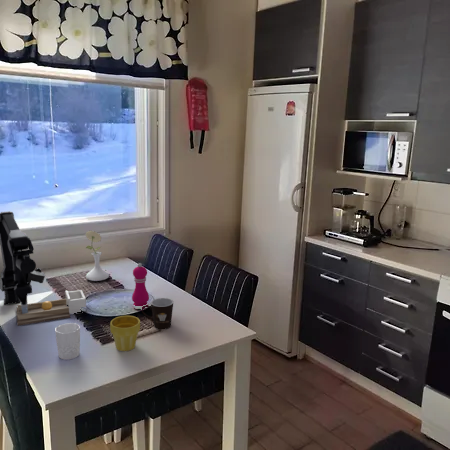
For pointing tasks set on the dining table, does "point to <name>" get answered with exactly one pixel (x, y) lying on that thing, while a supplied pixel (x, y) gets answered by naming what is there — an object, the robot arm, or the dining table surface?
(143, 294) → the pepper mill
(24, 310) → the striker
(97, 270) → the flower in vase
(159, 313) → the coffee mug
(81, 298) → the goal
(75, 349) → the white cup
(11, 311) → the dining table surface
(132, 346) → the plant pot
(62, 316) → the board
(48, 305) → the ball
